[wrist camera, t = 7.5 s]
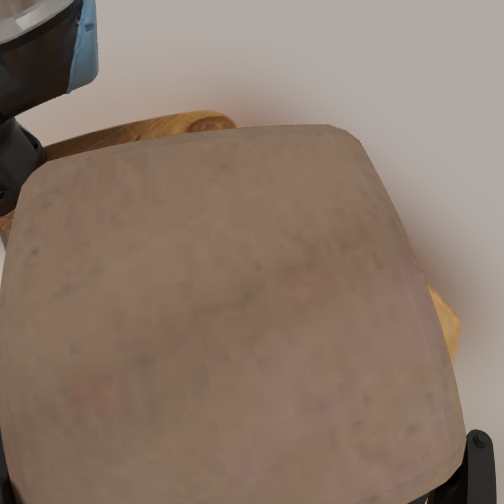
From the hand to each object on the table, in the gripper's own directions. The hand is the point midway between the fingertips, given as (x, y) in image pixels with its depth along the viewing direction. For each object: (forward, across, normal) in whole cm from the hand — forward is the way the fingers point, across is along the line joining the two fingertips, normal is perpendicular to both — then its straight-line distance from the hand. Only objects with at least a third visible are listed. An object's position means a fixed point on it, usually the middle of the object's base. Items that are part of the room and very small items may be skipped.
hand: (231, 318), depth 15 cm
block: (+6, 0, -9) cm, 11 cm away
